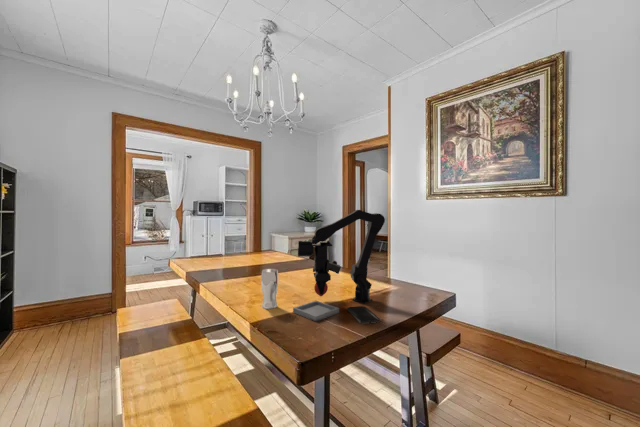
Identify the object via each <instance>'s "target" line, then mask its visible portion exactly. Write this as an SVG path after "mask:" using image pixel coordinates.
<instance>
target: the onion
mask: <svg viewBox="0 0 640 427" xmlns="http://www.w3.org/2000/svg"><path fill="white" fill-rule="evenodd" d="M313 287H314V292H315V293H316V295H318V296H319V297H323V296H324V295H325V294H326V293H327V292H328V287H329V286H328V284H327V283H326V284H325V288H324V292H323V294H320V292H319V289H318V286H317V284H316V283H315V284H314V286H313Z"/></svg>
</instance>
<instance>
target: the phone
mask: <svg viewBox="0 0 640 427" xmlns="http://www.w3.org/2000/svg"><path fill="white" fill-rule="evenodd" d="M346 310H347V311H348V312H349V313H350V315H351V316H353V318H354V319H355V320H356V321H357V322H358V323H359V324H362V325H365V324H366V325H367V324H376V322H377V323H380V322H381V319H380V317H378V316H377V315H376V314H375V313H373V312H372V311H371V310H370V309H369V308H368V307H366V306H364V305H361V306H349V307H347V309H346Z"/></svg>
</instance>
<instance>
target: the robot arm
mask: <svg viewBox="0 0 640 427" xmlns="http://www.w3.org/2000/svg"><path fill="white" fill-rule="evenodd" d="M358 220H360V221H364V222H367V226H366V227H367V228H366V229H367V230H366V235H365V239H364V241H363V244H362V247H361V251H360V254H359V257H358V259H357V260H358V261H357V263H356V264H354V263H353V264H352V266H351V269H350V270H349V273H350V278H351V280H352V281H353V283H355V285H356V286H355V290H354V291H355V292H354V293H355V295H354V298H352V301H355V302H357V303H361V304H366V303H368V302H372V301H373V298H370V293H371V292H370V289H371V287H372V283H371V282H370V281H369V280H368V278H367V277H368V264H369V260H370V258H371V255H372V251H373V248H374V245H375V242H376V239H377V235H378V234H379V232H380V231H381V230H382V228H383V227H384V224H385V221H386V218H385V217H384V215H383V214H381V213H377V212H376V213H370V212H367V211H363V210H361V209H356V210H354V211H353V212H351V213H349V214H347V215H345V216H343V217H342V218H340V219H338V220H336V221H334V222H332V223H329V224H327V225H322V226H320V227H318V228H316V229H315V231H314V235H313V237H312V238H311V239H310V240H309V241H307V240H306V241H303V240H298V242H297V243H298V247H297V257H298V258H300V257H301V258H302V257H303V258H304V257H311V256H312V255H314V259H313V260H314V266H312V272H313V276H314V281H315V284H317V286H318V289H319V292H320V294H323V292H324V288H325V284H327V282H329V281H331V274H330V272H334V273H335V274H337V275H339V274H340V271H341V269H342V266H341V265H340V264H338V262H337V261H336V260H333V259H332V261H330V260H329V255H328V254H329V250H328V249H329V247H333V244H332V243H331V242H330V240H328V239H330V238H331V237H332V236H333V235H334V234H335V233H336V232H338V231H339V230H341V229H343V228H345V227H347V226H348V225H350V224H352V223H354V222H356V221H358Z"/></svg>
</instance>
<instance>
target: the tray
mask: <svg viewBox="0 0 640 427" xmlns="http://www.w3.org/2000/svg"><path fill="white" fill-rule="evenodd" d="M292 313H293V314H296V315H298V316H301V317H304V318H306V319H309V320H310V321H313V322H319V321H321V320H324V319H326V318H329V317H331V316H335V315H337V314H340V308H339V307H338V306H334V305H332V304H328V303H324V302H322V301H319V300H314V301H311V302H308V303H304V304H301V305H298V306H295V307H293V308H292Z"/></svg>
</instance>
